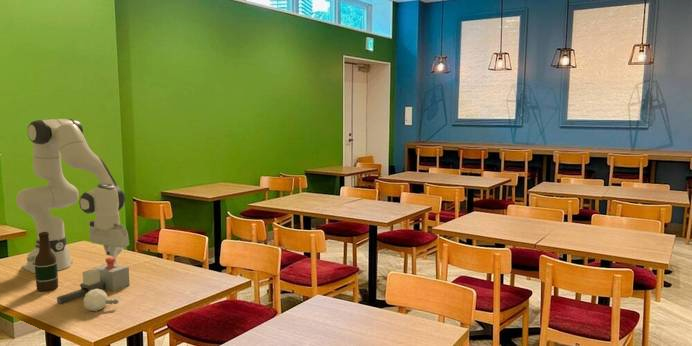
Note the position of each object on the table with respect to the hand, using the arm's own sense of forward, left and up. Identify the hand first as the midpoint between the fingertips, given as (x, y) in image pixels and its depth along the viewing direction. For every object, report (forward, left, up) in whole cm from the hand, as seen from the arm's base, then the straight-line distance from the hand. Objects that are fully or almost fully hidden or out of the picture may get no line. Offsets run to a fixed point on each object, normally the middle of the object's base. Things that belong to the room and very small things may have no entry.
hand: (110, 255), depth 210 cm
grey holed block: (0, 0, -13) cm, 13 cm away
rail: (0, -13, -13) cm, 19 cm away
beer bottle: (-20, -15, -14) cm, 29 cm away
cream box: (0, -9, -13) cm, 16 cm away
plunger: (0, 0, -10) cm, 10 cm away
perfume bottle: (+19, -19, -14) cm, 30 cm away
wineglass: (-13, +12, -14) cm, 22 cm away
